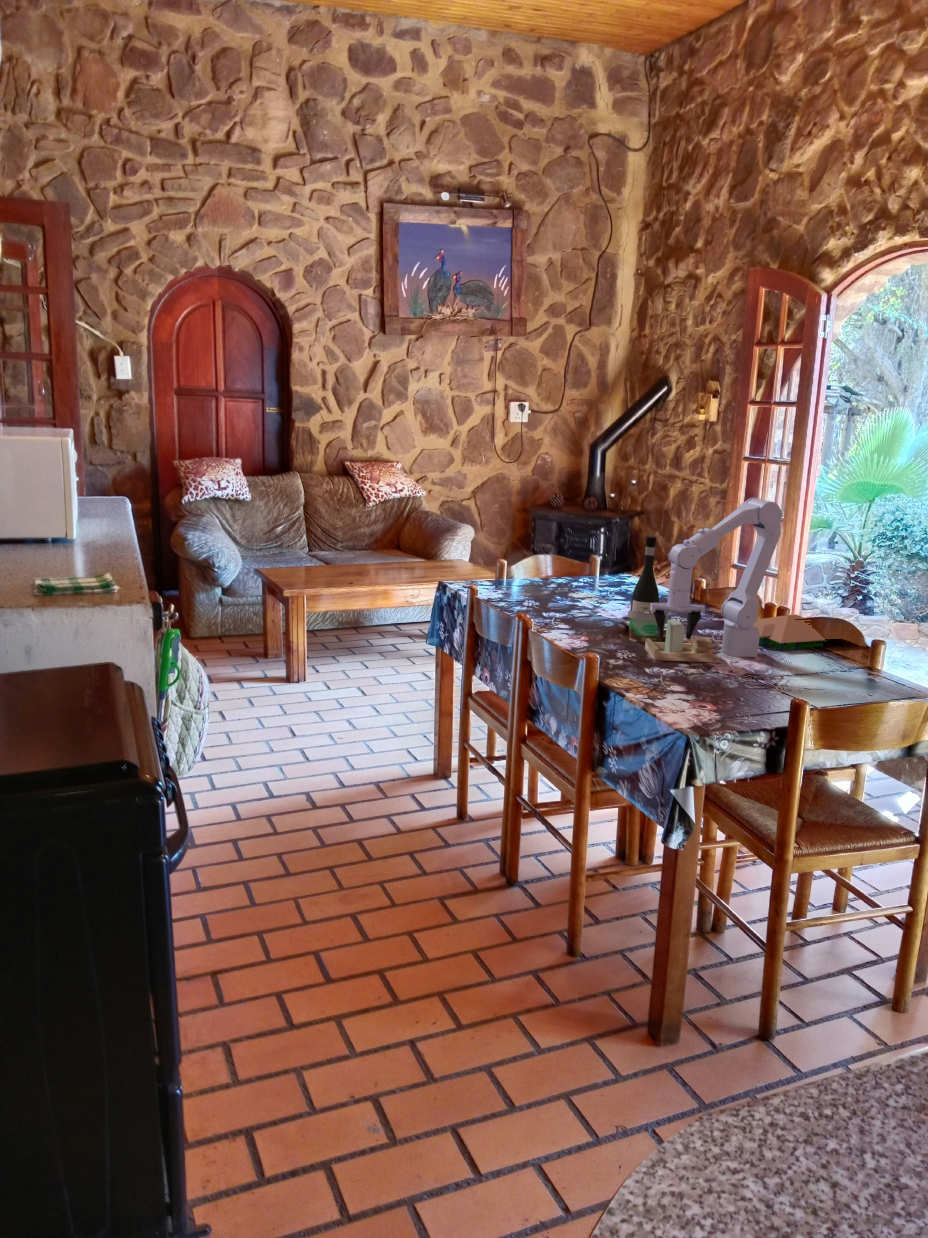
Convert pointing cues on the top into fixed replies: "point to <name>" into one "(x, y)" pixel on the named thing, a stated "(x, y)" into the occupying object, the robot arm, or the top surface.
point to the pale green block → (674, 636)
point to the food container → (643, 626)
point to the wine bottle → (646, 581)
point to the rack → (658, 653)
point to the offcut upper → (703, 643)
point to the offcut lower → (696, 650)
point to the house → (787, 631)
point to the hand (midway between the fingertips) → (674, 637)
